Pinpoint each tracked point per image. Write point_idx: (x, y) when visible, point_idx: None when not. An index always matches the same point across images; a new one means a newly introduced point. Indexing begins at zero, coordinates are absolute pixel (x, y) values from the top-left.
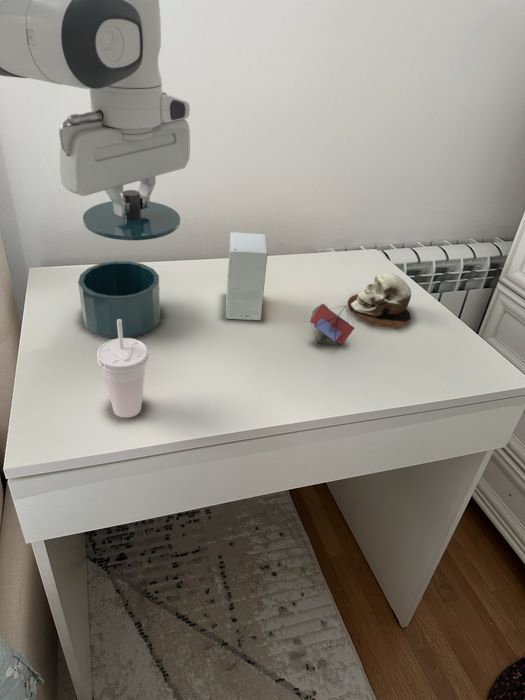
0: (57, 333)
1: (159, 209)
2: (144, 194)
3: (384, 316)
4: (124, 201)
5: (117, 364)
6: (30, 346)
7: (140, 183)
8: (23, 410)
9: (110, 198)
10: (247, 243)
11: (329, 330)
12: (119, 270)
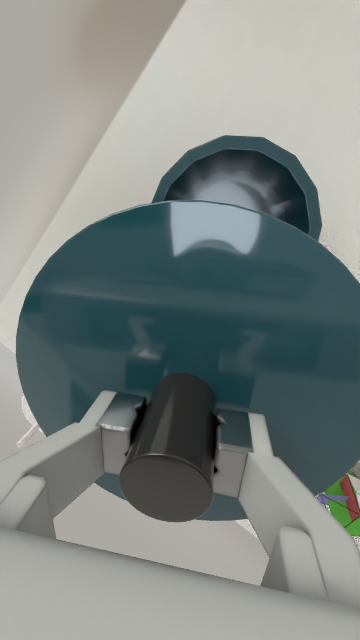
0: (130, 184)
1: (318, 431)
2: (246, 494)
3: None
4: (121, 456)
5: (32, 420)
6: (84, 182)
7: (292, 507)
8: (21, 284)
9: (54, 435)
10: None
11: (330, 500)
12: (287, 179)
